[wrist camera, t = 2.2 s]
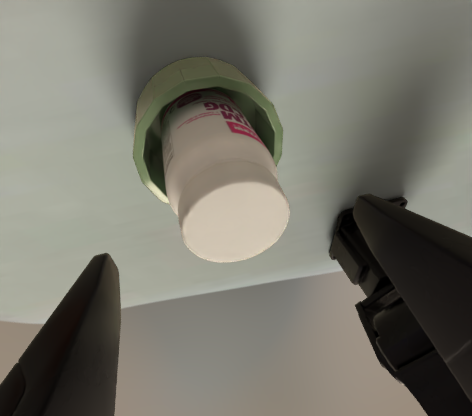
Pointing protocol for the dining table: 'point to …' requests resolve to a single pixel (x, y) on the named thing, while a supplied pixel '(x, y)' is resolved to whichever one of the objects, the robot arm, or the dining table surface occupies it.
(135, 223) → the dining table surface
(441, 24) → the dining table surface
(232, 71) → the green cup
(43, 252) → the dining table surface
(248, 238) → the pill bottle
